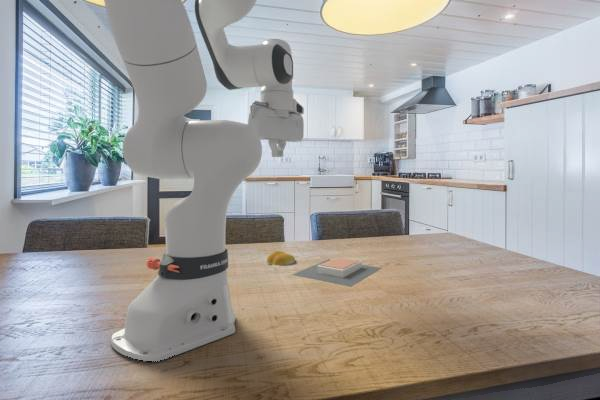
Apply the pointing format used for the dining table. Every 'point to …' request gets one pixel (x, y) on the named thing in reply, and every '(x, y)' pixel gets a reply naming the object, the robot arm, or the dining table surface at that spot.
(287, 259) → the bread roll
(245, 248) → the dining table surface
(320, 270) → the tile
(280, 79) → the robot arm
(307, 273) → the mat
